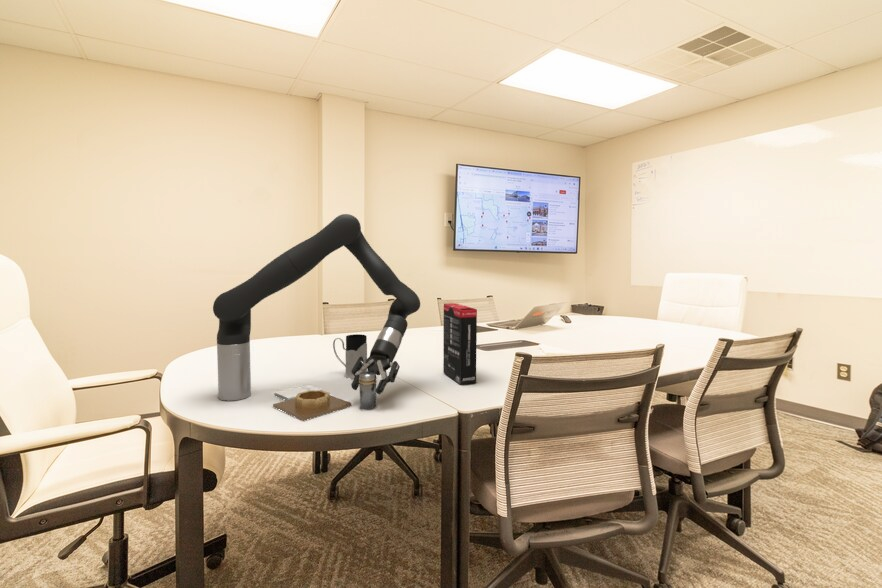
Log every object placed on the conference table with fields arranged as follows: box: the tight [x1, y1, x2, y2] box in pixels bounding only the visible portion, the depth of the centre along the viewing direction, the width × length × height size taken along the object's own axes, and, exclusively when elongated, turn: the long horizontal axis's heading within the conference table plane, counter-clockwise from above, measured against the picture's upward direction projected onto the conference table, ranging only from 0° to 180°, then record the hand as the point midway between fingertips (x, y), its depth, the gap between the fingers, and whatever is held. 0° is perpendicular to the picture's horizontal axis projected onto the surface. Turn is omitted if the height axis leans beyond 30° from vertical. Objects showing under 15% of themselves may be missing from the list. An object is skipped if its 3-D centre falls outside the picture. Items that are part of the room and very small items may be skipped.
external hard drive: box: [273, 384, 323, 401], centre depth 139 cm, size 2×8×12 cm
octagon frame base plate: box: [272, 389, 353, 422], centre depth 127 cm, size 16×16×4 cm
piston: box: [359, 372, 378, 411], centre depth 127 cm, size 5×5×10 cm
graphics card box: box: [442, 302, 478, 386], centre depth 158 cm, size 17×7×27 cm, turn 22°
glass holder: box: [332, 333, 368, 380], centre depth 161 cm, size 9×14×15 cm, turn 71°
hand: (365, 390), depth 126 cm, fingers open, 8 cm apart
